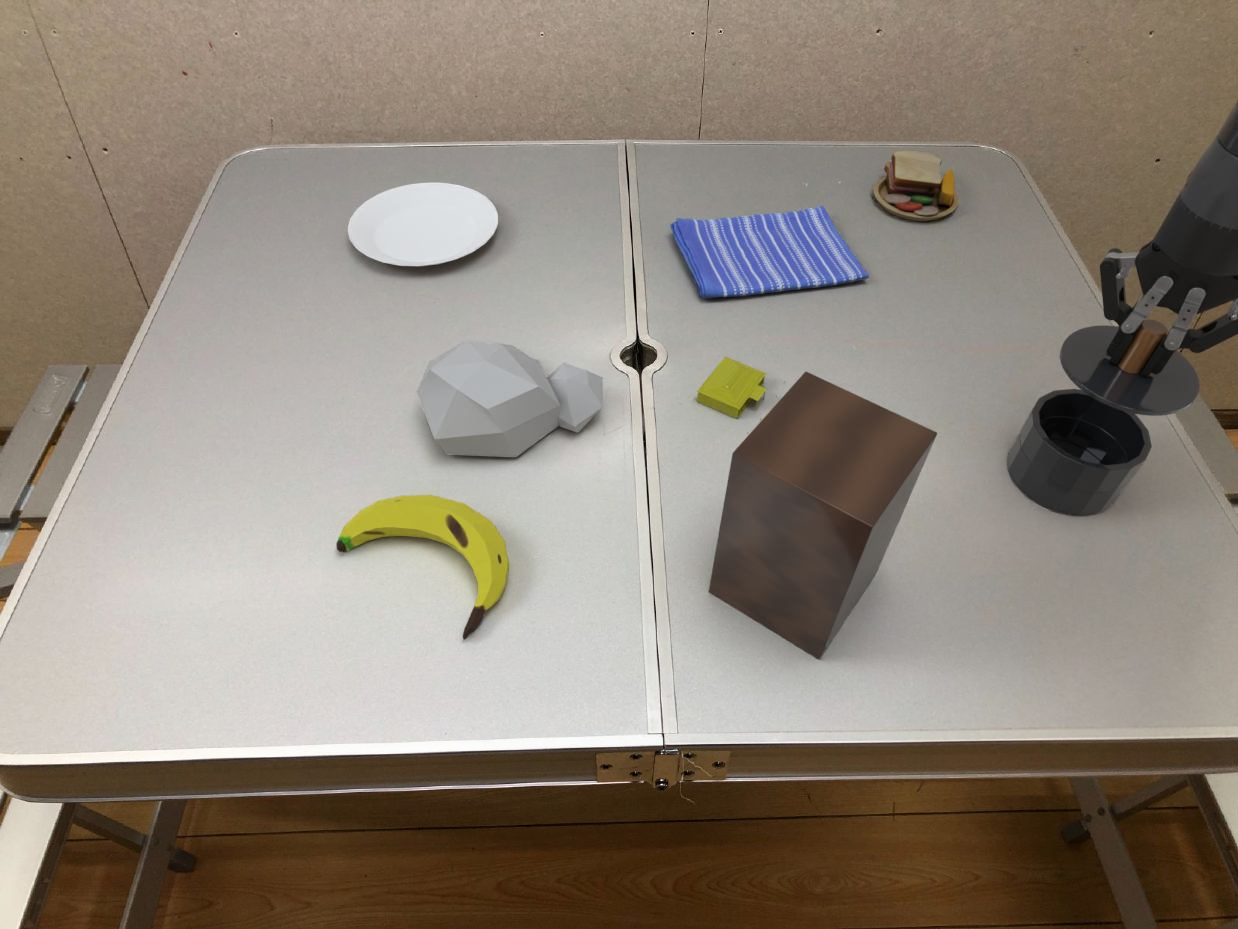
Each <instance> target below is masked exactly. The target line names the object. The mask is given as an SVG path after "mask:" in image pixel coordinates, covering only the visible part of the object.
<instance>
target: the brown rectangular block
mask: <svg viewBox="0 0 1238 929" xmlns="http://www.w3.org/2000/svg"><path fill="white" fill-rule="evenodd" d="M937 436H938V432H936V431H935V430H933V429H930V428H928V427H926V426H924V425H921V423H918V422H916V421H913V420H911V419H909V418H907V417H905V416H902V415H901V414H899V413H897V412H893V411H892V410H889V409H887V408H885V407H883V406H881V405H879V404H878V403H875V402H873V401H870V400H868V399H866V398H864V397H862V396H860V395H857V394H856V393H853V392H851V391H849V390H847V389H844V388H842V387H841V386H838V385H836V384H834V383H832V382H830V381H828V380H825V379H823V378H821V377H819V376H817V375H815V374H813V373H810V372H808V371H804V372H803V374H802V375H801V376H800V377H799V378H798V379H797V380H796V381H795V382H794V384H793V385H792V386H790V388H789V389H788V391H786V393H784V395H783V396H782V397H781V398H780V399H779V400H778V401H777V403H776V404H775V405H774V406H773V407H772V408H771V409H770V410H769V412H768V413H767V414H766V415H765V416H764V417H763V419H761V420H760V422H759V423H758V424H757V425H756V426H755V427H754V429H753V430H752V431H750V433H748V435H747V436H746V437H745V439H744V440H743V441H742V442H741V443H740V444H739V445H738V446H737V447H736V448H735V449H734V451H733V452H732V453H731V454H732V455H731V459H730V466H729V471H728V477H727V483H726V489H725V494H724V500H723V507H722V512H721V518H720V524H719V530H718V535H717V541H716V546H715V553H714V558H713V564H712V570H711V575H710V580H709V581H710V582H709V588H708V593H709V594H711V595H713V596H714V597H716V598H718V599H719V600H721V601H722V602H724V603H726V604H728V605H729V606H731V607H732V608H734V609H735V610H737V611H739V612H740V613H742V614H744V615H745V616H747V617H748V618H750V619H752V620H753V621H755V622H757V623H758V624H759V625H762V626H763V627H764V628H766V629H768V630H770V631H772V632H773V633H775V634H776V635H778V636H780V637H781V638H783V639H785V640H786V641H788V642H789V643H790V644H792V645H794V646H796V647H797V648H799V649H800V650H802V651H804V652H806V653H807V654H809V655H810V656H812V657H814V659H815V658H816V659H817V660H821V659H822V657H823V656H824V654H825V653H826V652H827V650H828V649H829V647H830V645H831V643H832V642H833V640H834V639H835V638H836V636H837V635H838V633H839V632H840V629H841V628H842V627H843V625H844V624H845V622H846V621H847V619H848V617H849V616H850V615H851V613H852V611H853V610H854V608H855V607H856V605H858V604H857V603H858V602H859V601H860V600H861V598H862V596H863V595H864V593H865V592H866V590H867V588H868V587H869V585H870V584H871V582H872V581H873V580H874V578H875V576H876V574H877V572H878V571H879V569H880V566H881V564H882V561H883V560H884V557H885V555H886V553H887V550H888V548H889V545H890V543H891V542H892V539H893V537H894V534H895V532H896V530H897V527H898V525H899V523H900V520H901V519H902V516H903V513H904V511H905V509H906V507H907V504H908V503H909V500H910V497H911V495H912V493H913V491H914V488H915V487H916V484H917V482H918V479H919V477H920V475H921V472H922V470H923V468H924V465H925V463H926V461H927V459H928V456H929V454H930V451H931V449H932V447H933V445H934V442H935V440H936V438H937Z"/></svg>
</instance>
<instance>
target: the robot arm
mask: <svg viewBox="0 0 1238 929" xmlns="http://www.w3.org/2000/svg"><path fill="white" fill-rule="evenodd" d="M1099 264H1100V265H1099V273H1100V275H1099V276H1100V285H1101V287H1100V288H1101V298H1102V308H1103V317H1104V318H1105V319H1106V320H1107V321H1113V322H1115V323H1116V324H1117V325H1118V327H1119V330H1118V331H1117V333H1116V335H1115V336H1114V338H1113V340H1112V341H1111V343H1110V345H1109V347H1108V349H1107V354H1106V355H1108V356H1110V357H1111V359H1110V361H1109V363H1112V364H1114V365H1117V363H1118V362H1119V360H1120V359H1121V357H1122V355H1123V354H1124V352H1125V350H1126V349H1127V347H1128V346H1129V344H1130V342H1131V341H1132V339H1133V337H1134V336H1135V334H1136V331H1137V329H1138V327H1139V326H1140V324H1141V323H1142V322H1143V321H1144V320H1146V318H1147V317H1149V315H1150V314H1151V313H1152V312H1153V310H1154V309H1155V307H1158V308H1165V309H1168V310H1170V311H1171V312H1173V313H1174V314H1177V316H1176V317H1175V319H1174V322H1173V324H1172V326H1171V328H1170V329H1169V330H1168V331H1167V333H1166V335H1165V336H1164V338H1163V339H1162V341H1161V342H1160V343H1159V345H1158V347H1157V348H1156V350H1155V351H1154V353H1153V354H1152V356H1151V357H1150V359H1149V360H1148V362H1147V364H1146V365H1145V367H1144V368H1143V370H1142V371H1141V373H1140V375H1142V376H1144V377H1147V378H1148V376H1149V375H1150V373H1153V374H1155V375H1157V374H1158V373H1160V372H1161V371H1162V370H1163V368H1164V367H1165V365H1166V364H1167V362H1168V361H1169V359H1170V358H1171V356H1172V355H1173V353H1174V352H1175V351H1176V350H1177V351H1178V350H1181V349H1185V350H1190V352H1191V353H1194V354H1201V353H1203V352H1205V351H1206V350H1209V349H1211V348H1213V347H1216V346H1217V345H1219V344H1221V343H1223V342H1225V341H1227V340H1228V339H1231V338H1233V337H1235V336H1237V335H1238V99H1236V101H1235V103H1234V105H1233V106H1232V108H1231V110H1230V111H1229V113H1228V115H1227V117H1226V119H1225V121H1224V122H1223V124H1222V125H1221V127H1220V129H1219V131H1218V133H1217V134H1216V136H1215V137H1214V139H1213V140H1212V142H1211V143H1210V144H1209V146H1208V147H1207V148H1206V150H1205V151H1204V152H1203V154H1202V155H1200V157H1199V159H1198V161H1197V162H1196V164H1195V166H1194V167H1193V169H1192V170H1191V171H1190V172H1189V174H1188V176H1187V179H1186V181H1185V183H1184V185H1183V186H1182V188H1181V190H1180V192H1179V193H1178V195H1177V197H1176V199H1175V200H1174V202H1173V204H1172V206H1171V207H1170V209H1169V211H1168V213H1167V215H1166V216H1165V218H1164V219H1163V221H1162V223H1161V225H1160V227H1159V229H1158V230H1157V232H1156V234H1155V235H1154V237H1153V238H1152V240H1151V241H1149V242H1148V243H1146V244H1145V245H1143V246H1142V247H1141V248H1140V249H1139V251H1132V252H1131V251H1129V252H1123V251H1122V250H1121V249H1120V248H1117V247H1115V248H1111V249H1109V251H1107V253H1106V255H1105V256H1104V257H1103V260H1102V261H1101V263H1099ZM1133 267H1135V269H1136V273H1137V276H1138V281H1139V285H1140V289H1141V292H1142V293H1141V295H1140V296H1139V298H1138V299H1137V300H1136V302H1134V305H1133V306H1130V305H1129V304H1128V303H1127V296H1126V294H1127V293H1126V283H1125V282H1126V281H1125V279H1126V278H1127V277H1128V275H1129V274H1130V272H1131V270H1132V268H1133ZM1230 302H1233V303H1232V304H1230V306H1229V308H1228V309H1227V310H1228V311H1227V313H1225V314H1223V315H1221V316H1219V317H1217V318H1215V319H1214V320H1212V321H1209V322H1208V323H1205V324H1204V325H1201V326H1200V327H1199V328H1197V329H1196V328H1190V327H1191V325H1192V323H1193V321H1194V319H1195V317H1196V315H1199V314H1202V313H1204V312H1207V311H1209V310H1212V309H1214V308H1217V307H1220V306H1223V305H1225V304H1227V303H1230Z"/></svg>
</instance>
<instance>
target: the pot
mask: <svg viewBox="0 0 1238 929" xmlns="http://www.w3.org/2000/svg"><path fill="white" fill-rule="evenodd" d="M1152 447H1153V445H1152V441H1151V436H1150V431H1149V429H1148V428H1147V427H1146V426H1145V424H1144V423H1143V421H1142V420H1141V419H1140V418H1139V416H1138V414H1133V413H1129V412H1125V411H1122V410H1119V409H1116V408H1113V407H1111V406H1108V405H1106V404H1104V403H1102V402H1100V401H1098V400H1096V399H1094V398H1092V397H1091V396H1089V395H1088V394H1086V393H1085V392H1083V391H1082V390H1081V389H1080V388H1068V389H1057V390H1052V391H1050V392H1048V393H1045V394H1044V395H1042V396H1040V397H1039V398H1038V399H1037V401H1036V402H1035V404H1034V406H1033V408H1032V409H1031V410H1030V413H1029V414H1028V416H1027V418H1026V420H1025V422H1024V424H1023V426H1022V427H1021V430H1020V431H1019V433H1018V435H1017V437H1016V439H1015V440H1014V442H1013V444H1012V445H1011V448H1010V449H1009V451H1008V453H1007V458H1006V466H1007V471H1008V475H1009V476H1010V478H1011V480H1012V482H1013V483H1014V485H1015V486H1016V487H1017V488H1018V489H1019V491H1020V492H1021V493H1022V494H1024V496H1026V497H1027V498H1028V499H1030V500H1031V501H1033V502H1034V503H1036V504H1037V505H1039V506H1041V507H1043V508H1045V509H1047V510H1050V511H1053V512H1056V513H1057V514H1062V515H1067V516H1073V517H1086V516H1087V517H1088V516H1093V515H1097V514H1101V513H1103V512H1105V511H1106V510H1108V509H1109V508H1110V507H1111V506H1113V505H1114V504H1115V503H1116V501H1117V500H1118V499H1119V498H1120V496H1121V495H1122V493H1124V490H1125V489H1126V488H1127V487H1128V485H1129V484H1130V483H1131V481H1132V480H1133V479H1134V477H1135V476H1136V474H1138V472H1139V470H1140V469H1141V468H1142V466H1143V465H1144V463H1145V462H1146V461H1147V459H1148V457H1149V454H1150V452H1151V449H1152Z"/></svg>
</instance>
